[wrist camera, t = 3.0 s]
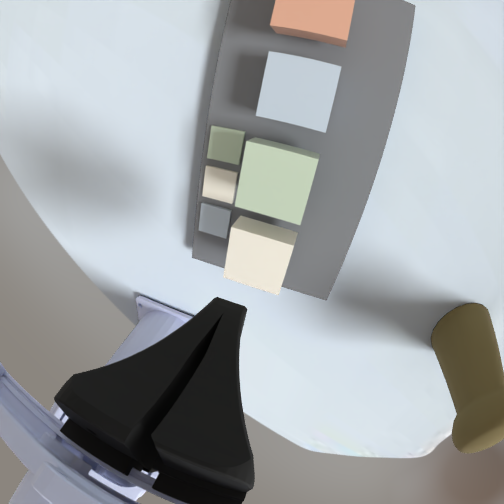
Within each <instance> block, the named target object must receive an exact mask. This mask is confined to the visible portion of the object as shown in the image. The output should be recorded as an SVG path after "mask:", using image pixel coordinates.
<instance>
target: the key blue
mask: <svg viewBox="0 0 504 504" xmlns="http://www.w3.org/2000/svg"><path fill="white" fill-rule="evenodd" d="M340 71H341V66H337V65H334V64H330V63H326V62H322V61H318V60H313V59H309V58H304V57H300V56H295V55H289V54H284V53H278V52H271V51H269V53H268V58H267V63H266V67H265V72H264V77H263V82H262V87H261V92H260V97H259V102H258V107H257V112H256V116H259V117H264V118H269V119H273V120H278V121H282V122H286V123H290V124H294V125H298V126H302V127H306V128H310V129H313V130H317V131H321V132H324V133H326V129H327V126H328V122H329V118H330V113H331V109H332V105H333V101H334V97H335V93H336V89H337V84H338V80H339V76H340Z"/></svg>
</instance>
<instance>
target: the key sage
mask: <svg viewBox="0 0 504 504" xmlns="http://www.w3.org/2000/svg"><path fill="white" fill-rule="evenodd" d="M319 156H320V154H319V153H315V152H312V151H308V150H305V149H301V148H297V147H294V146H290V145H286V144H282V143H278V142H274V141H270V140H265V139H261V138H257V137H255V138H252V139H250V140H248V141H246V146H245V151H244V157H243V162H242V168H241V173H240V179H239V185H238V190H237V196H236V202H235V207H239V208H243V209H246V210H250V211H253V212H257V213H260V214H264V215H267V216H271V217H274V218H277V219H281V220H284V221H287V222H291V223H294V224H297V225H300V224H301V221H302V218H303V214H304V211H305V207H306V204H307V200H308V197H309V193H310V190H311V186H312V182H313V179H314V175H315V171H316V168H317V164H318V160H319Z"/></svg>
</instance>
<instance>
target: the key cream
mask: <svg viewBox="0 0 504 504" xmlns="http://www.w3.org/2000/svg"><path fill="white" fill-rule="evenodd" d="M297 234H298V232H295V231H291V230H288V229H285V228H282V227H278V226H275V225H271V224H268V223H265V222H261V221H258V220H254V219H251V218H247V217H244V216H240V217H239V218H238V219H237V221H236V222H235V223H234V224H233V225H232V227H231V232H230V238H229V244H228V250H227V257H226V263H225V269H224V276H223V277H224V278H227V279H230V280H233V281H236V282H239V283H242V284H245V285H248V286H251V287H254V288H257V289H260V290H263V291H267V292H270V293H273V294H276V295H279V292H280V289H281V286H282V283H283V280H284V277H285V274H286V270H287V267H288V264H289V261H290V258H291V254H292V251H293V248H294V244H295V241H296V238H297Z"/></svg>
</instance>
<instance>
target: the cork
mask: <svg viewBox="0 0 504 504" xmlns="http://www.w3.org/2000/svg"><path fill="white" fill-rule="evenodd" d="M431 343H432V347H433V349H434V351H435V354H436V356H437V359H438V361H439V364H440V367H441V369H442V372H443V374H444V377H445V380H446V383H447V385H448V388H449V391H450V394H451V397H452V400H453V403H454V406H455V409H456V413H457V416H456V418H455V420H454V423H453V429H452V439H453V443H454V445H455V447H456V448H457V449H458V450H459V451H460V452H462V453H474V452H478V451H481V450H484V449H486V448H489V447H491V446H493V445H495V444H497V443H498V442H500V441H501V440H503V439H504V372H503V367H502V362H501V357H500V352H499V348H498V344H497V339H496V336H495V332H494V328H493V324H492V321H491V318H490V314H489V312H488V309H487V308H486V307H485V306H483V305H481V304H477V303H471V304H465V305H462V306H459V307H457V308H455V309H453V310H452V311H450V312H449V313H447V314H446V315H445V316H444V317H443V318H442V319H441V320H440V321H439V322H438V323H437V325H436V326H435V328H434V329H433V332H432V336H431Z"/></svg>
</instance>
